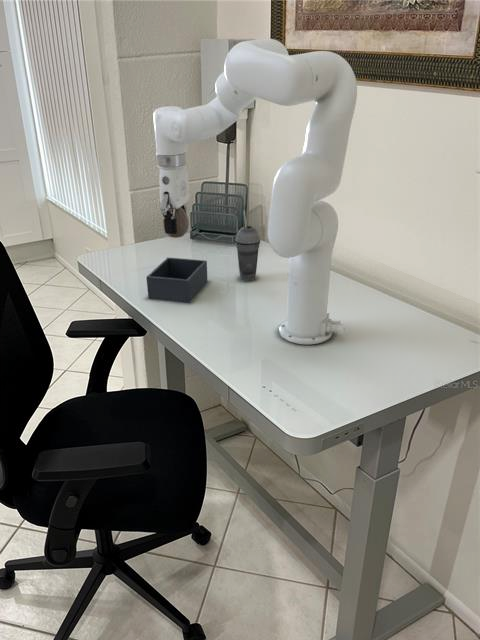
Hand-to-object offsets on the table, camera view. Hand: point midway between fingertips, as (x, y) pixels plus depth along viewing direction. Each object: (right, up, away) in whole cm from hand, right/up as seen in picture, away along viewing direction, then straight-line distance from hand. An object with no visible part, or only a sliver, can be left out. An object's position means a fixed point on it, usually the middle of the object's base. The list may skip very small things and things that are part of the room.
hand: (176, 228), depth 159 cm
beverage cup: (+21, -11, +15) cm, 28 cm away
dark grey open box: (0, -15, +10) cm, 18 cm away
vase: (0, -2, +1) cm, 2 cm away
